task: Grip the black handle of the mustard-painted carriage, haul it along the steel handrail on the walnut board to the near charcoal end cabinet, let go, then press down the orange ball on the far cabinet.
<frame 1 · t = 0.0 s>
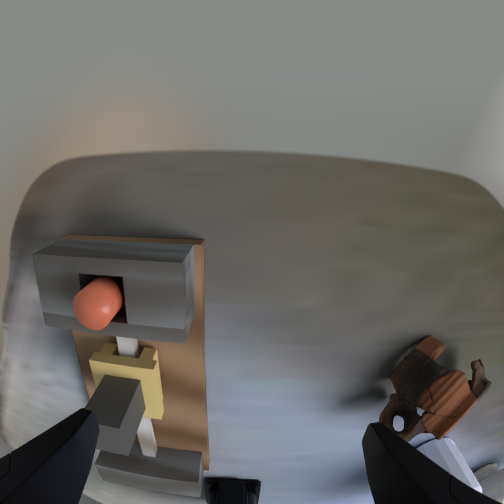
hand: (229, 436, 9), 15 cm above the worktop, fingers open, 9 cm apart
pottery mug: (418, 377, 26), on the worktop
soap bottle: (423, 457, 30), on the worktop
carriage: (120, 401, 19), point 6 cm above the worktop, slide at 0.0 cm
ceramic pitcher: (471, 480, 35), on the worktop
orange ball: (99, 301, 17), point 6 cm above the worktop, slide at 0.0 cm
rail board: (144, 377, 25), on the worktop
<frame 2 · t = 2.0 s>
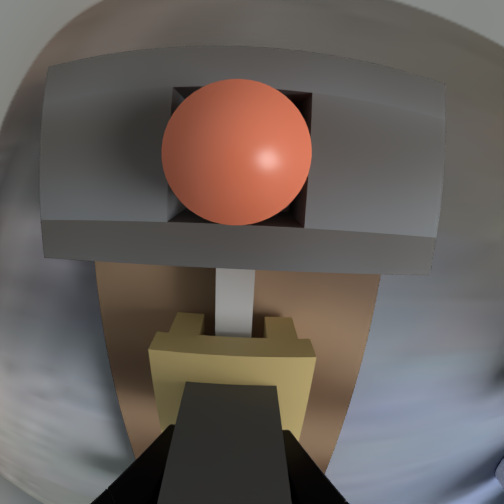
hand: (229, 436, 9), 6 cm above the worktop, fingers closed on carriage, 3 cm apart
carriage: (229, 440, 8), point 6 cm above the worktop, slide at 0.0 cm, touching gripper
orange ball: (238, 153, 6), point 6 cm above the worktop, slide at 0.0 cm
rail board: (233, 380, 14), on the worktop
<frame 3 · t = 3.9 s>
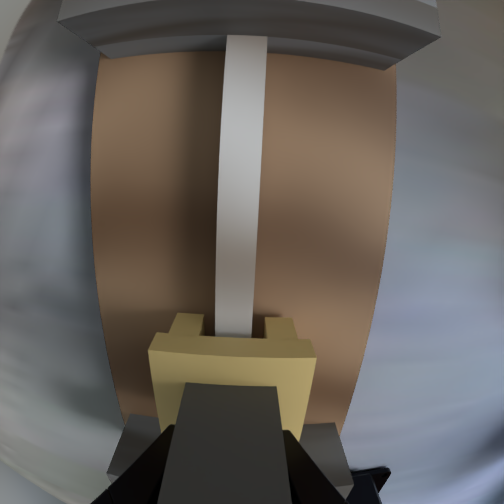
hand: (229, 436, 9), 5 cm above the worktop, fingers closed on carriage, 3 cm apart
carriage: (229, 441, 8), point 6 cm above the worktop, slide at 6.4 cm, touching gripper
rail board: (237, 251, 13), on the worktop
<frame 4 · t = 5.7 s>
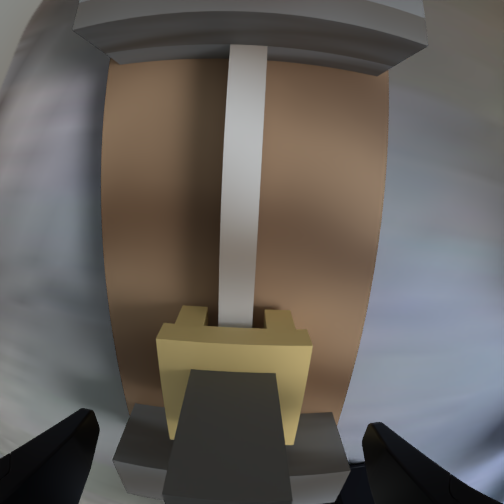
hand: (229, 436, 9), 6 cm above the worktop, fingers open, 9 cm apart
carriage: (231, 424, 9), point 6 cm above the worktop, slide at 6.5 cm
rail board: (239, 246, 13), on the worktop
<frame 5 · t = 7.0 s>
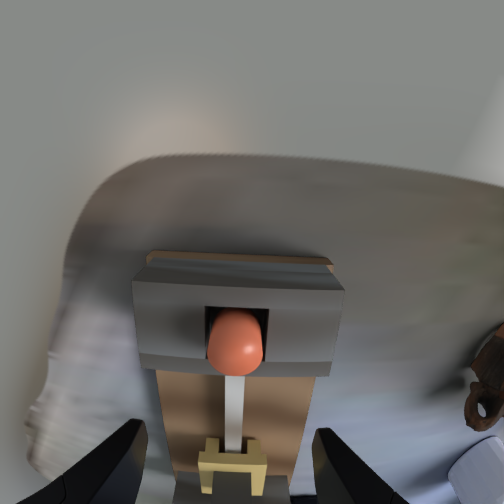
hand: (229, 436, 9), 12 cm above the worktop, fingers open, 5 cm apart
pottery mug: (491, 364, 23), on the worktop
soap bottle: (472, 456, 28), on the worktop
carriage: (231, 492, 18), point 6 cm above the worktop, slide at 6.5 cm
orange ball: (235, 340, 14), point 6 cm above the worktop, slide at 0.0 cm
rail board: (234, 407, 23), on the worktop
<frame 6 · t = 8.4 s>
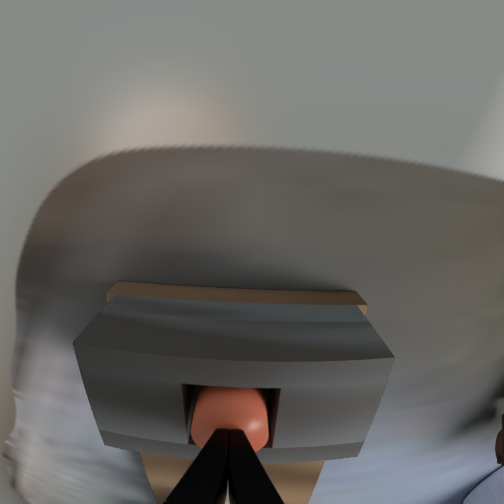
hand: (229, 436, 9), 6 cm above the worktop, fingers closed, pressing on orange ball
soap bottle: (489, 482, 22), on the worktop
orange ball: (230, 409, 10), point 5 cm above the worktop, slide at 1.0 cm, touching gripper
rail board: (231, 462, 17), on the worktop
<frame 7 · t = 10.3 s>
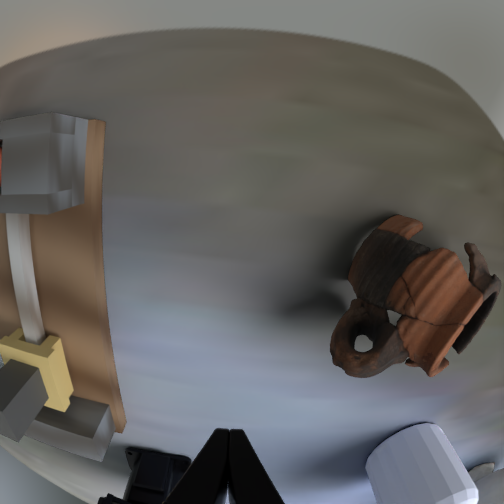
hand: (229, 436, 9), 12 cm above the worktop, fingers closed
pottery mug: (394, 287, 20), on the worktop
soap bottle: (403, 448, 26), on the worktop
carriage: (21, 387, 16), point 6 cm above the worktop, slide at 6.5 cm
ceramic pitcher: (463, 482, 30), on the worktop
rail board: (46, 298, 20), on the worktop
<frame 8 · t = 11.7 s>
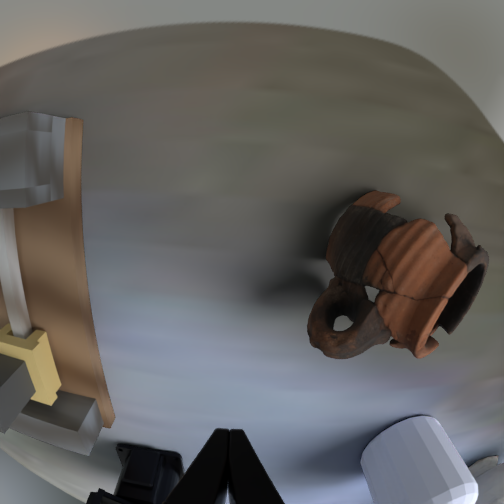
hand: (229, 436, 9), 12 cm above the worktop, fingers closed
pottery mug: (376, 267, 20), on the worktop
soap bottle: (399, 442, 25), on the worktop
carriage: (9, 381, 16), point 6 cm above the worktop, slide at 6.5 cm
ceramic pitcher: (466, 476, 30), on the worktop
rail board: (33, 294, 20), on the worktop
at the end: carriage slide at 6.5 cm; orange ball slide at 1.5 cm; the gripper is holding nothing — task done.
